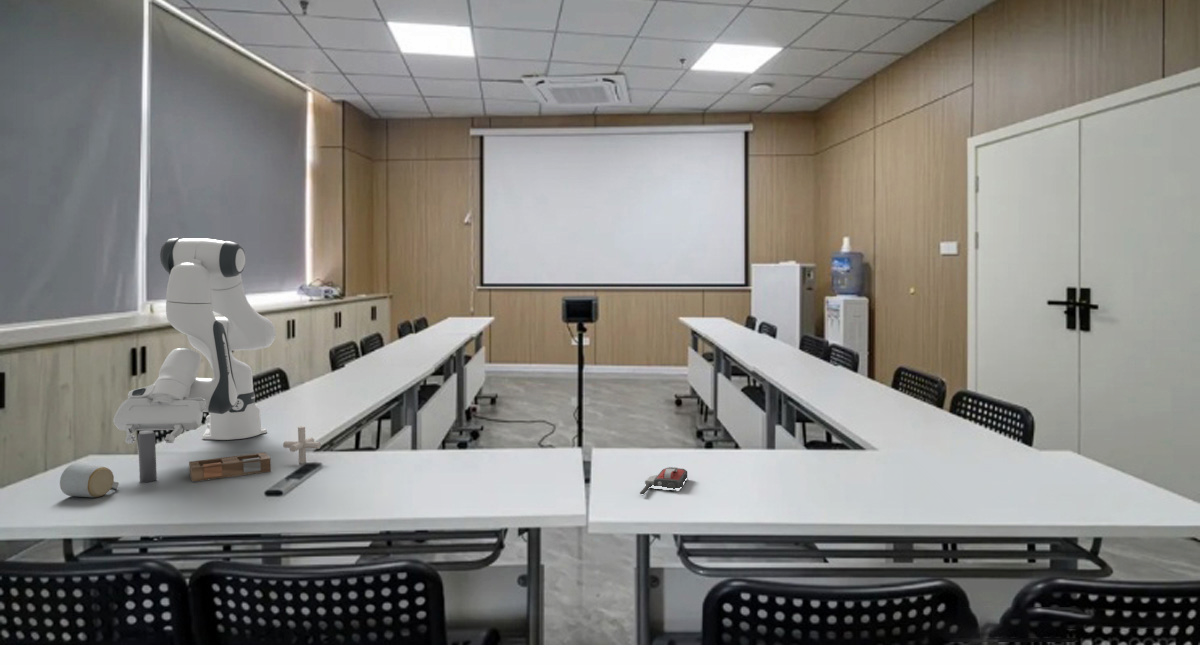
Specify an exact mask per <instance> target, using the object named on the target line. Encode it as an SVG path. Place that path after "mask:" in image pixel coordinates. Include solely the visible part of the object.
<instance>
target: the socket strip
mask: <svg viewBox="0 0 1200 665" xmlns="http://www.w3.org/2000/svg"><path fill="white" fill-rule="evenodd" d="M271 461H272V460H271V457H270V456H269V455H268V454H267V453H266V452H265V451H264V452H256V453H250V454H249V453H248V454H241V455H233V456H226V457H217V458H208V459H201V460H194V461H193V460H192V461H189V462H188V466H189V468H188V469H189V472H188V473H189V477H190V476H191V477H190V480H191V481H197V482H202V481H201V480H204V481H209V480H208V479H211V480H217V479H216V478H219V479H225V478H224V477H226V478H230V477H232V476H233V477H239V475H240V476H246V475H245V474H248V475H253V473H255V474H262V473H268V472H269V473H270V472H272V469H271V468H272V467H271V465H272V464H271V463H272V462H271Z"/></svg>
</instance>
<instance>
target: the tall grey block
mask: <svg viewBox="0 0 1200 665" xmlns="http://www.w3.org/2000/svg"><path fill="white" fill-rule="evenodd" d="M154 431H155V430H139V433H138V434H137V444H138V445H137V446H138V466H139V470H138V471H139V483H143V482H145V483H150V482H149V481H152V482H155V481H154V480H156V479H157V480H158V477H157V476H158V475H157V474H158V473H157V472H158V471H157V454H156V453H157V451H156V450H157V449H156V432H154ZM157 480H156V481H157Z"/></svg>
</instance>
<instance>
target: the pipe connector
mask: <svg viewBox="0 0 1200 665" xmlns="http://www.w3.org/2000/svg"><path fill="white" fill-rule="evenodd" d="M297 436H298V438H297V439H298V441H289V440H288V441H287V440H285V441H284V442H283V443H282V446H283V448H286V449H289V451H290V452H292V453H294V452H297V451H298V463H299V464H305V462H306V463H307V454H306V453H307V450H306V449H319V450H320V448H321V446H322V444H321V441H315V439H314V438H313V437H309V438H306V426H298V427H297Z"/></svg>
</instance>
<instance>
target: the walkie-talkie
mask: <svg viewBox="0 0 1200 665" xmlns="http://www.w3.org/2000/svg"><path fill="white" fill-rule="evenodd" d="M686 478H687V479H688V470H687V469H685V468H681V467H680V468H679V467H673V466H668V467H665V468H663V469H661V471H660V472H659V473H658V474H656V475H650V476H649V477H648V478H647V479H645V481H644V487H643V488H642V490H641V491H640V492H639V494H640V495H641V494H644V493H645V492H646V491H647V492H648V491H649V489H648V488H649V487H651V486H652V485H654V486H662V487H667V488H673V489H675V488H680V487H682V485H683V482H684V481H685V479H686ZM645 484H646V486H645ZM682 488H683V487H682ZM645 494H646V493H645ZM645 494H644V495H645Z"/></svg>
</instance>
